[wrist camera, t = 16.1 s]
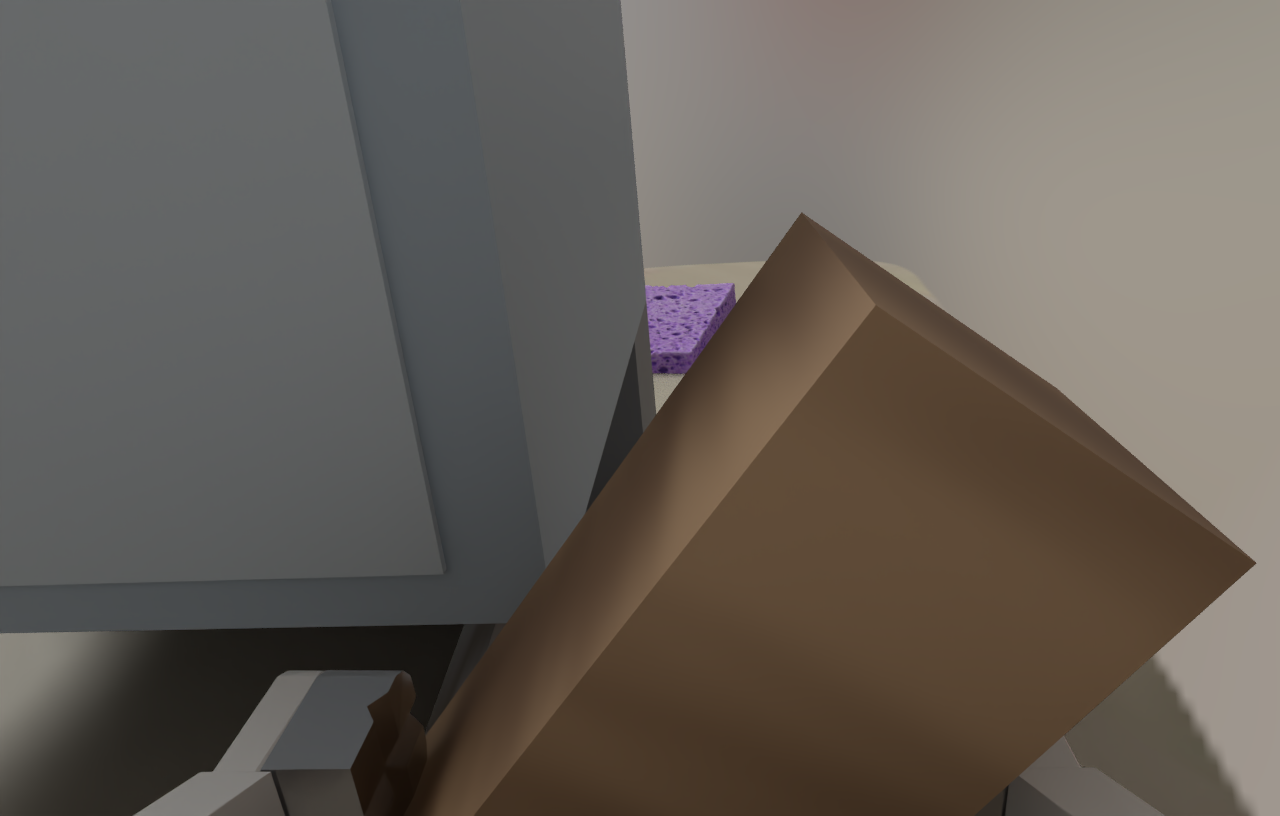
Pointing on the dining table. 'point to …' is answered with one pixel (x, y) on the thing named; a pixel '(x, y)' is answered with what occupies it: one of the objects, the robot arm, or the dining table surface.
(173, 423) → the cabinet
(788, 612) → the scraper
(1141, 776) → the dining table surface
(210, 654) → the dining table surface
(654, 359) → the sponges
